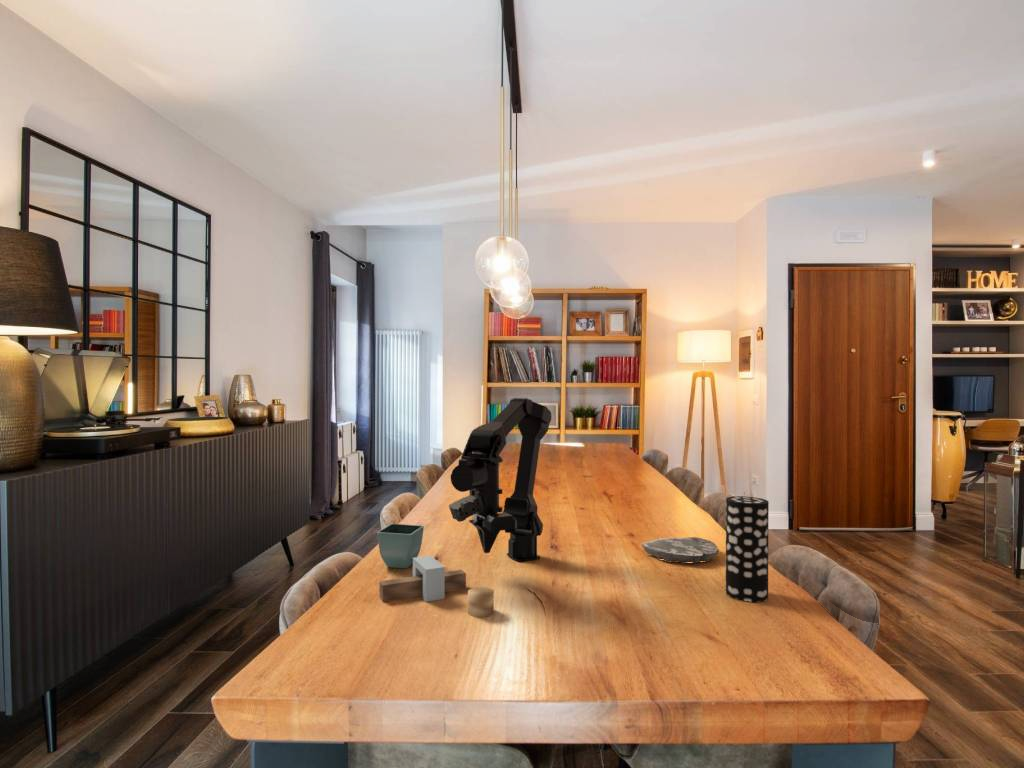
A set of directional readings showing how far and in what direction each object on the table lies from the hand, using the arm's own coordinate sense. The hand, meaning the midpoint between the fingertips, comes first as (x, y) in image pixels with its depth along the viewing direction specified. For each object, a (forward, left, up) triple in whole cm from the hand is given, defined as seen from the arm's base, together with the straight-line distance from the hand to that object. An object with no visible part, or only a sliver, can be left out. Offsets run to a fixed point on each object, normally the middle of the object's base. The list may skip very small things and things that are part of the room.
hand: (486, 552), depth 131 cm
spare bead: (+9, +17, -6) cm, 20 cm away
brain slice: (-53, +6, -6) cm, 54 cm away
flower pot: (+15, -18, -6) cm, 24 cm away
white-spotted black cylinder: (-45, +33, -6) cm, 56 cm away
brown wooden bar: (+16, +3, -6) cm, 17 cm away
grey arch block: (+15, +3, -6) cm, 16 cm away
